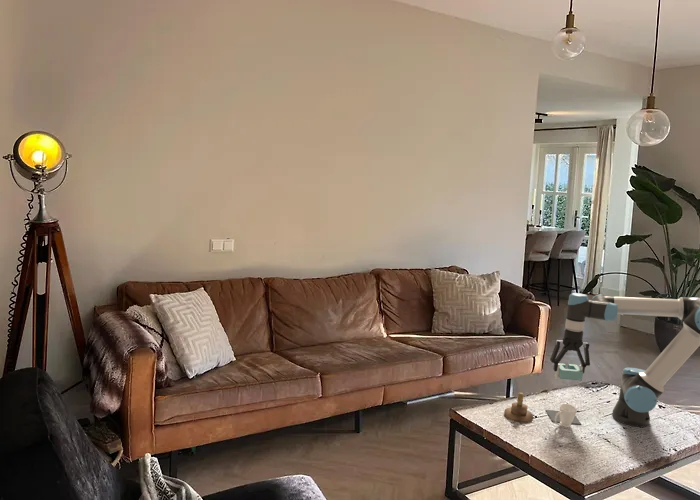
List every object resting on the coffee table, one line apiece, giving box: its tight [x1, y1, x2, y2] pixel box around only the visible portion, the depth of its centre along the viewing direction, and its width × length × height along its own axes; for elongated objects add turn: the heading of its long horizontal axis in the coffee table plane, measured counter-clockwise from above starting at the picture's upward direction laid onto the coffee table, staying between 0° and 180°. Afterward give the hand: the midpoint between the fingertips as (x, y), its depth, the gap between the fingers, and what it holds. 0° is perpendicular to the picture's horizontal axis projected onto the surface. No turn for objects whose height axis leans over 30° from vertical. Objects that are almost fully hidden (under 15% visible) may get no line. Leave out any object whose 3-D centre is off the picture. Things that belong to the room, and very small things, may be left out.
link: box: [558, 362, 584, 382], centre depth 255 cm, size 9×9×4 cm
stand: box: [503, 392, 534, 423], centre depth 256 cm, size 12×12×10 cm
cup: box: [554, 403, 578, 428], centre depth 249 cm, size 7×10×8 cm
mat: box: [545, 409, 582, 426], centre depth 258 cm, size 12×12×1 cm
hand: (567, 379), depth 256 cm, fingers closed on link, 9 cm apart
